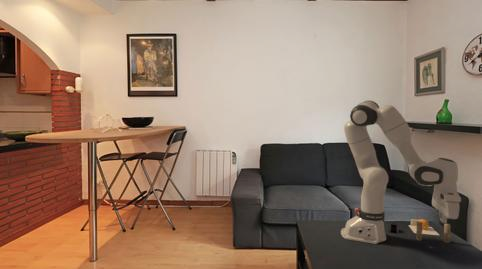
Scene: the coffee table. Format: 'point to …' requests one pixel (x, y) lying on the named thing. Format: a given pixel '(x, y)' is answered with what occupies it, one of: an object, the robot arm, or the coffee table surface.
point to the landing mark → (424, 230)
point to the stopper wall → (414, 222)
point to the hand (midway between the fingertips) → (443, 221)
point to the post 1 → (419, 231)
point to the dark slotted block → (393, 228)
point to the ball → (424, 223)
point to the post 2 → (447, 233)
